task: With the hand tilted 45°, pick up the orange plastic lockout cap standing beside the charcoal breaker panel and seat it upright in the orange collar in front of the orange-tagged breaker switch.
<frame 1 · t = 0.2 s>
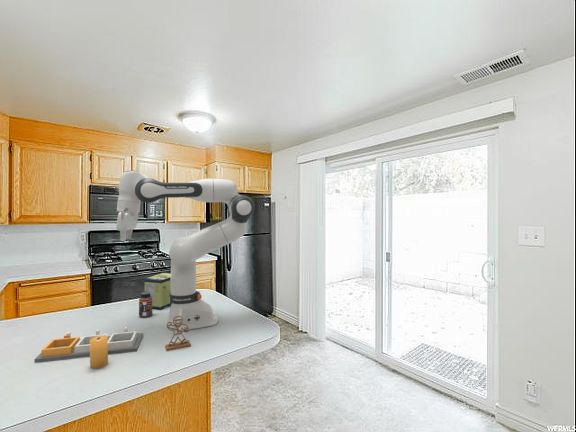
hand: (125, 239, 134), 39 cm above the countertop, tool pointing down, fingers open, 8 cm apart
protein box: (162, 304, 168), on the countertop
supplement bottle: (145, 316, 151), on the countertop
lockout cap: (99, 364, 106), on the countertop
gingerbread man figurine: (178, 347, 120), on the countertop
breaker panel: (93, 347, 118), on the countertop
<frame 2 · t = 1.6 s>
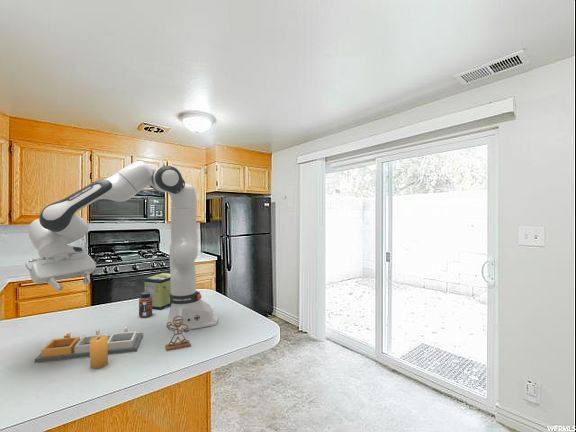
hand: (74, 286, 110), 26 cm above the countertop, tool tilted 45°, fingers open, 8 cm apart
nothing on the countertop moved.
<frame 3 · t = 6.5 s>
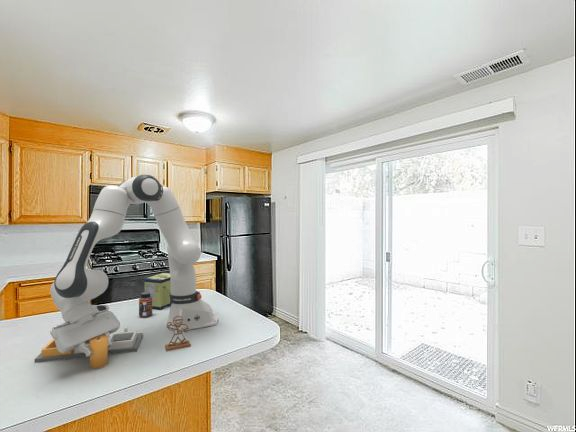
hand: (100, 350, 106), 5 cm above the countertop, tool tilted 45°, fingers closed on lockout cap, 5 cm apart
lockout cap: (99, 364, 106), on the countertop, touching gripper
everything else where it was.
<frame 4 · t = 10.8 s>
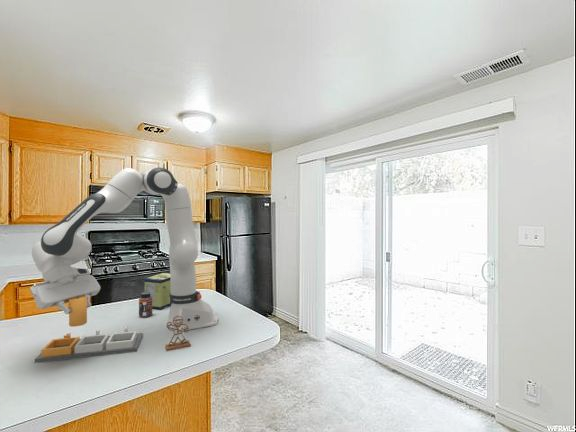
hand: (79, 309, 109), 18 cm above the countertop, tool tilted 45°, fingers closed on lockout cap, 5 cm apart
lockout cap: (78, 323, 109), point 13 cm above the countertop, touching gripper
everything else where it was.
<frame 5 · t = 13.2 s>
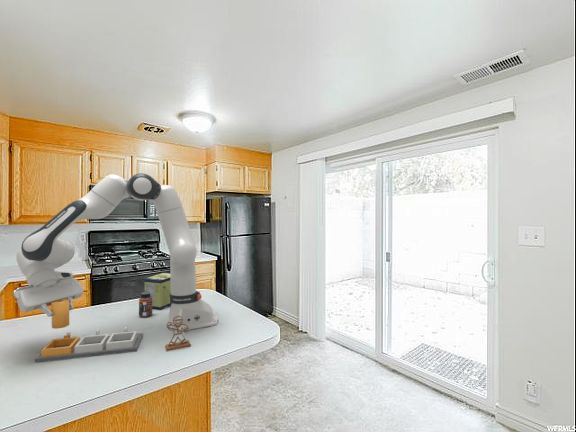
hand: (61, 312, 113), 15 cm above the countertop, tool tilted 45°, fingers closed on lockout cap, 5 cm apart
lockout cap: (60, 325, 113), point 10 cm above the countertop, touching gripper
everything else where it was.
when the fingers open (8 cm above the countertop, at t = 15.2 s): lockout cap drops 1 cm, resting on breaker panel.
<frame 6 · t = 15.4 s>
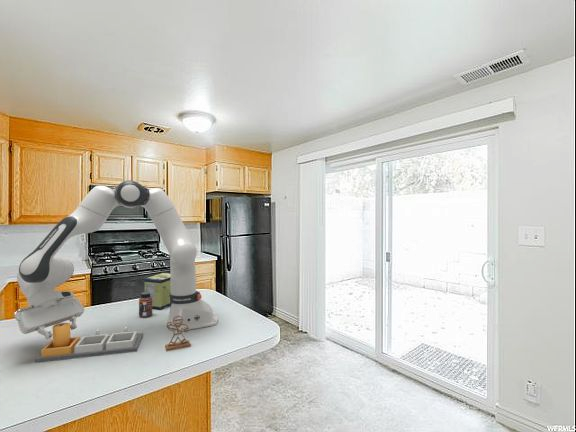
hand: (62, 332, 113), 8 cm above the countertop, tool tilted 45°, fingers open, 7 cm apart
lockout cap: (61, 349, 114), point 1 cm above the countertop, touching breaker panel
everything else where it was.
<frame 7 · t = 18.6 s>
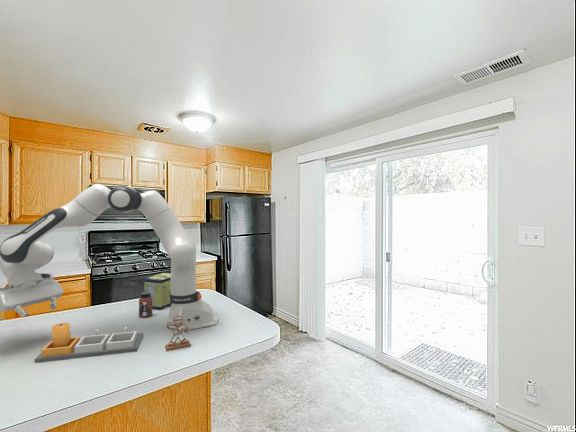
hand: (40, 311, 118), 13 cm above the countertop, tool tilted 45°, fingers open, 8 cm apart
nothing on the countertop moved.
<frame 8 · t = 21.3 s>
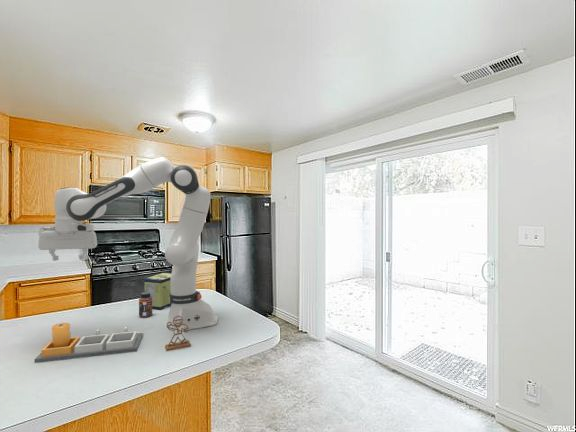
hand: (68, 259, 129), 31 cm above the countertop, tool pointing down, fingers open, 8 cm apart
nothing on the countertop moved.
at the end: lockout cap 0.0 cm from the target spot on the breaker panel, point 1.2 cm above the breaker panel's base; lockout cap tilted 1°; the gripper is holding nothing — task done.
